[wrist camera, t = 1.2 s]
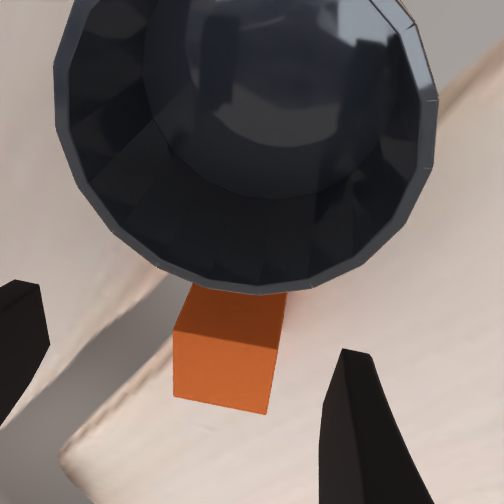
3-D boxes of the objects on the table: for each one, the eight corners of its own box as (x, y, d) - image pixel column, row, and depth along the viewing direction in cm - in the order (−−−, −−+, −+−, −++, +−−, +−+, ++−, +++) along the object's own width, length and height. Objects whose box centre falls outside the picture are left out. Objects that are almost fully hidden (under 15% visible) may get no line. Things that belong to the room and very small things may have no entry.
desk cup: (273, 242, 21) (250, 341, 16) (89, 81, 18) (-8, 141, 13) (471, 83, 16) (526, 155, 11) (259, -174, 13) (206, -232, 8)
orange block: (280, 331, 24) (265, 416, 20) (202, 317, 24) (172, 397, 20) (291, 268, 21) (277, 350, 17) (205, 253, 22) (172, 330, 18)
